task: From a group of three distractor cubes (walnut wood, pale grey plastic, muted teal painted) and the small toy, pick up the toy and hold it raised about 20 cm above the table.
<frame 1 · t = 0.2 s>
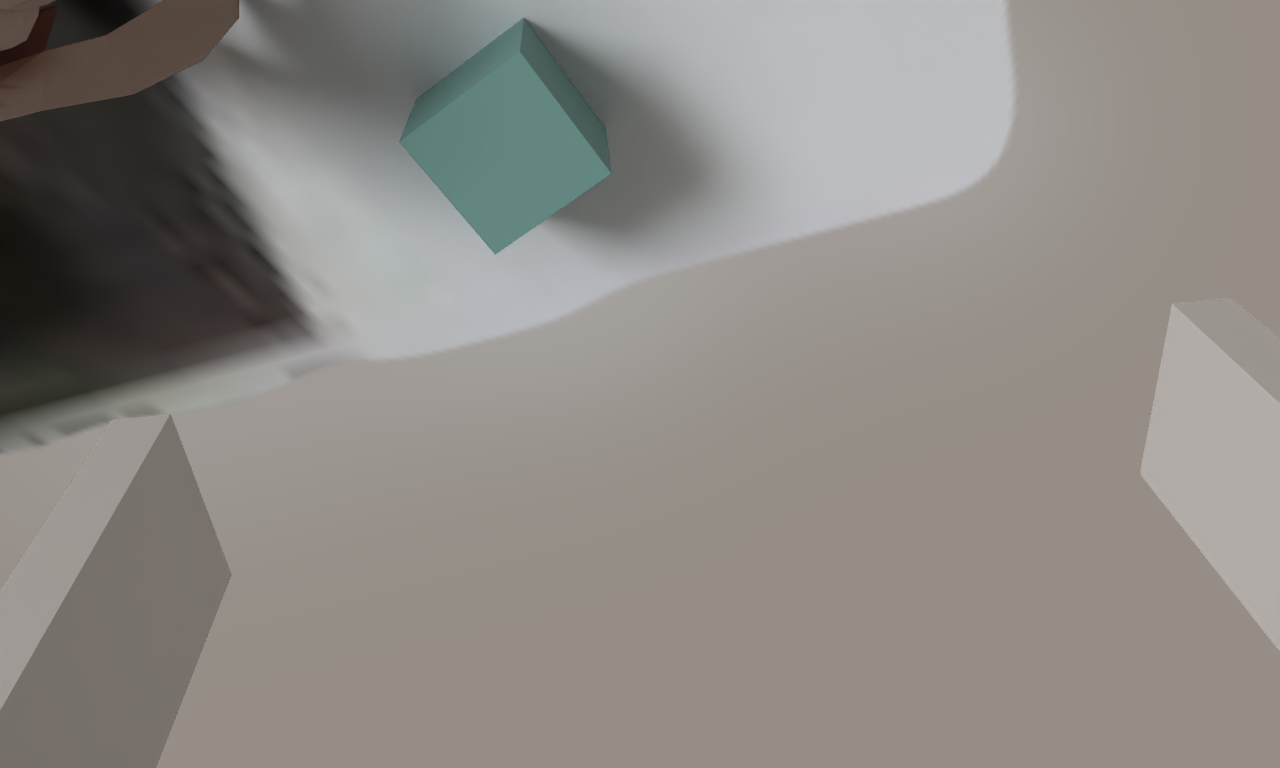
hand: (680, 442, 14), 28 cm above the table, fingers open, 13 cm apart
teal cube: (512, 113, 40), on the table
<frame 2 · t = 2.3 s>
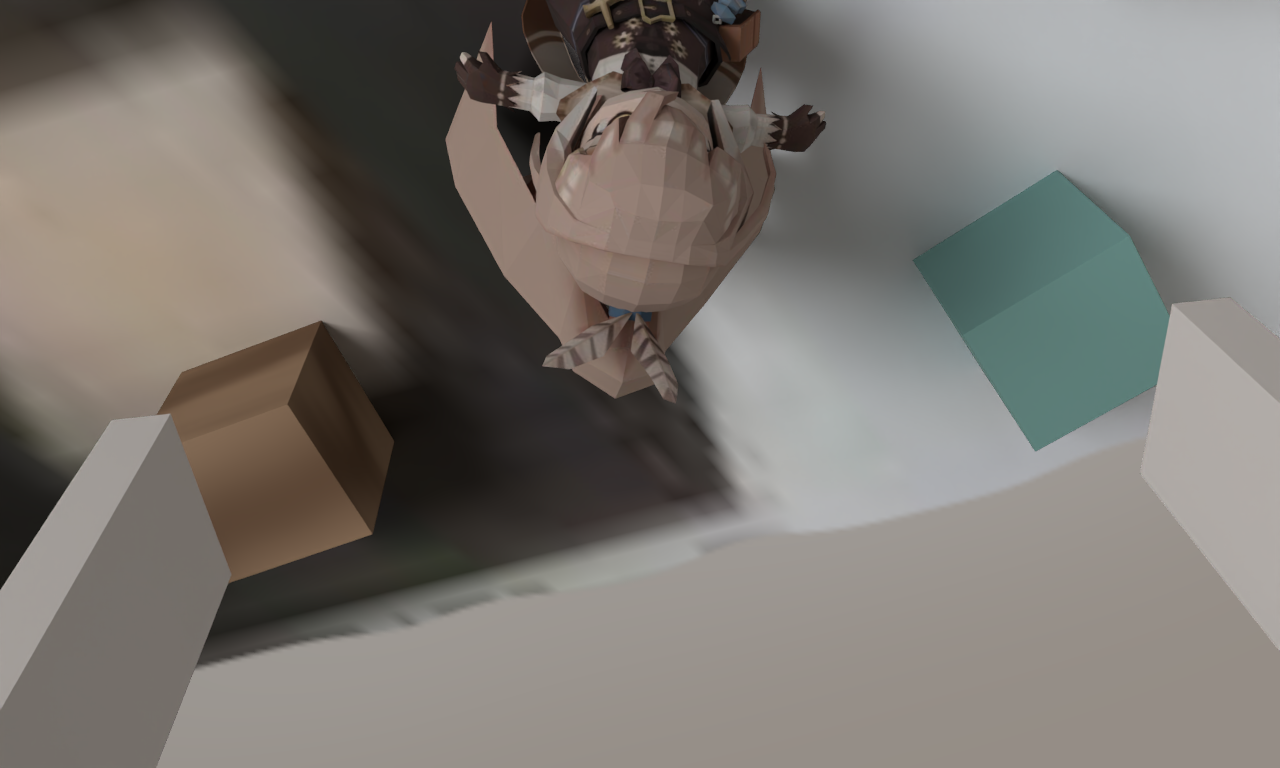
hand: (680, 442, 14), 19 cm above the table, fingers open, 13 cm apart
toy: (621, 63, 30), on the table
teal cube: (1016, 273, 35), on the table
walnut cube: (291, 406, 36), on the table
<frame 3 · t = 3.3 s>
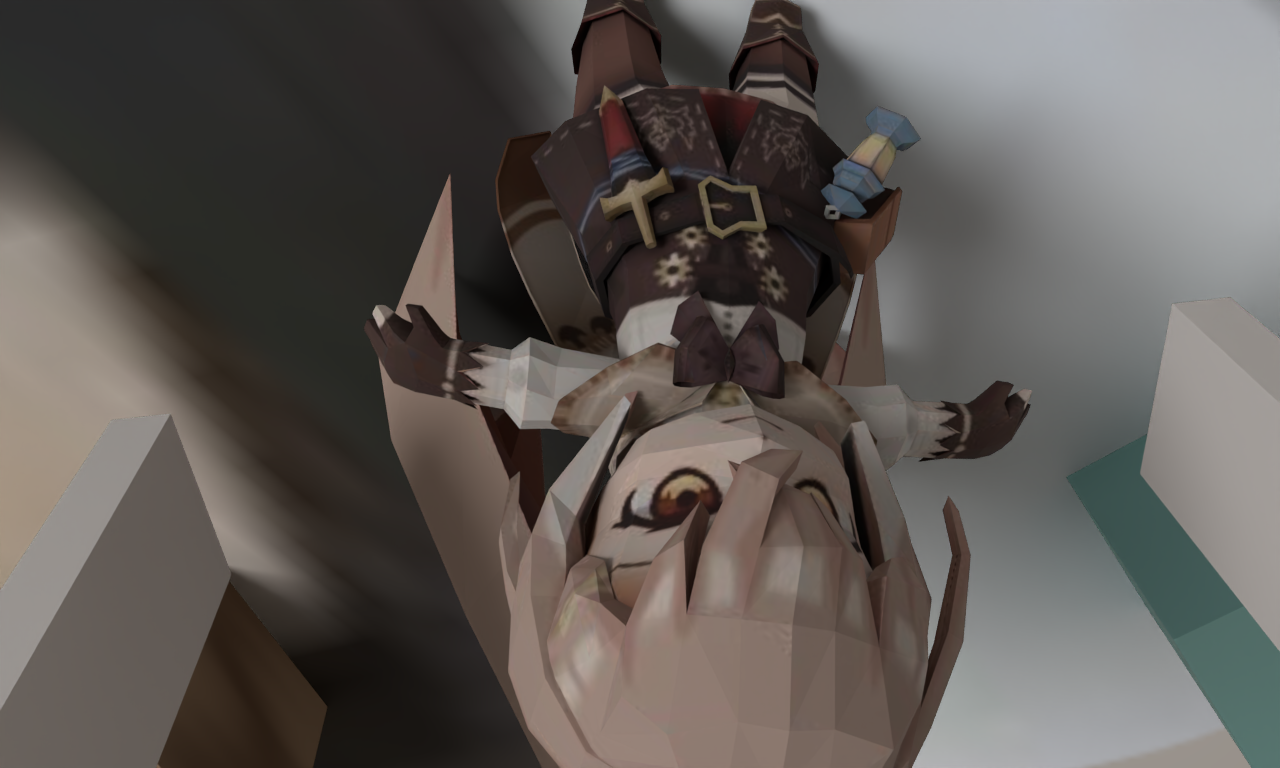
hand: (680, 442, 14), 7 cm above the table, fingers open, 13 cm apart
toy: (652, 217, 20), on the table
teal cube: (1210, 490, 24), on the table
walnut cube: (180, 666, 25), on the table
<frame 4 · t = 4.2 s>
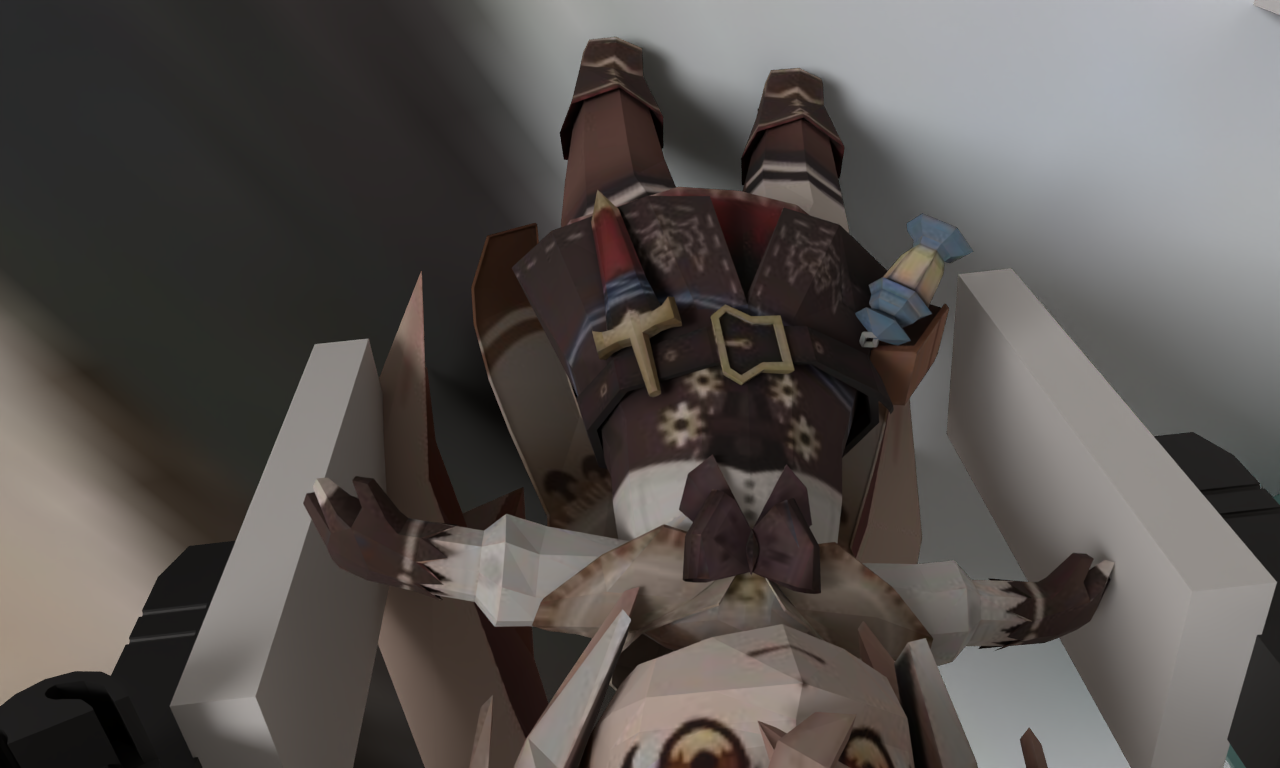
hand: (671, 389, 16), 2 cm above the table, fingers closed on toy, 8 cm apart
toy: (653, 308, 18), on the table, touching gripper
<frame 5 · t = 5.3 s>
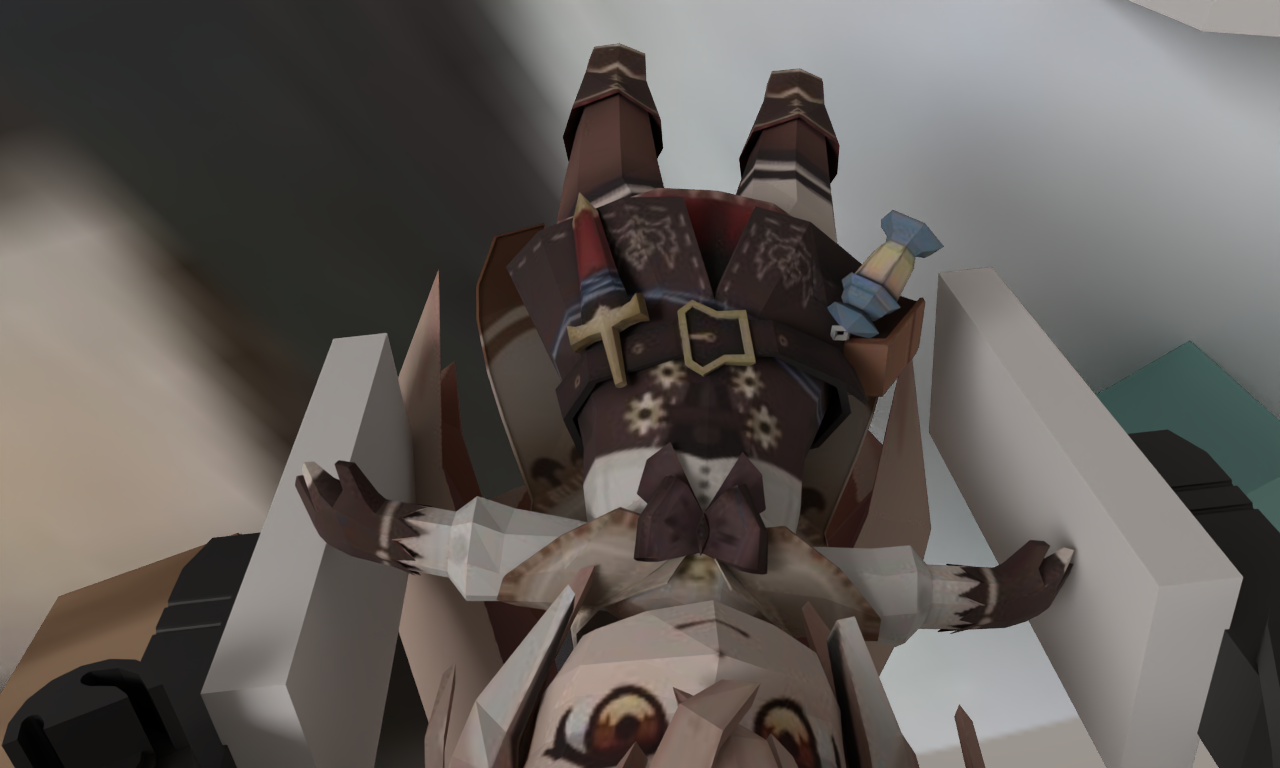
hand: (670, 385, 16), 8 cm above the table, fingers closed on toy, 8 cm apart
toy: (669, 303, 18), point 5 cm above the table, touching gripper
teal cube: (1130, 462, 27), on the table
walnut cube: (203, 632, 28), on the table
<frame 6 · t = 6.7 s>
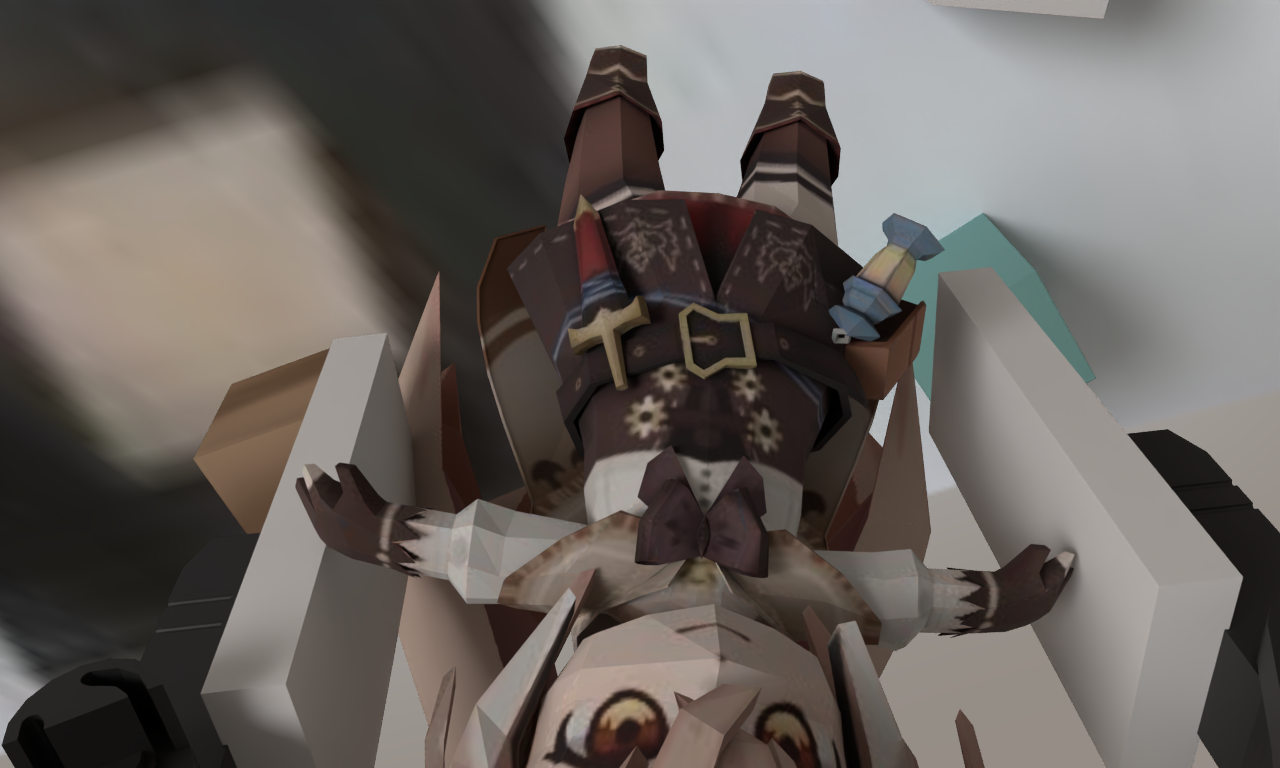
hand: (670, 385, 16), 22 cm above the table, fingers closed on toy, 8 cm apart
toy: (669, 305, 18), point 19 cm above the table, touching gripper
teal cube: (951, 300, 40), on the table
walnut cube: (325, 414, 41), on the table
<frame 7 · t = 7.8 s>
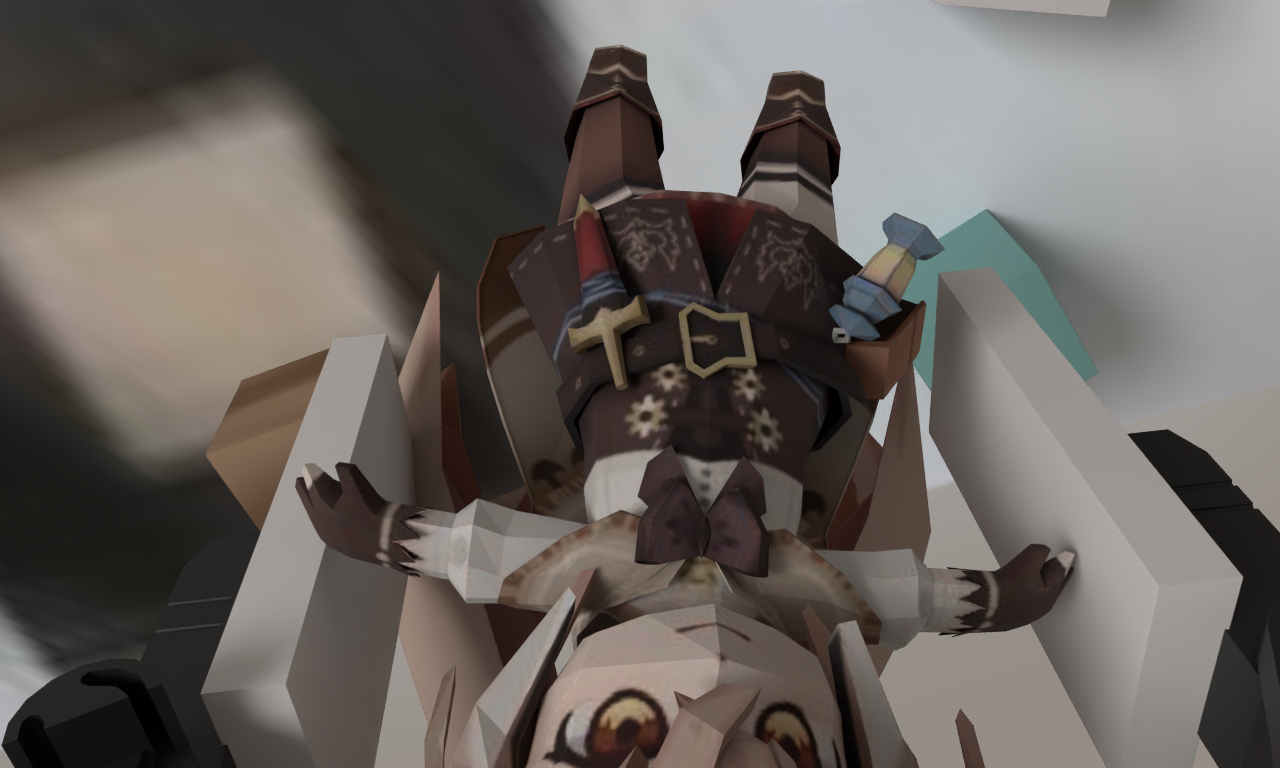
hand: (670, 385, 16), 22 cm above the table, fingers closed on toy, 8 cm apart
toy: (669, 305, 18), point 19 cm above the table, touching gripper
teal cube: (954, 295, 41), on the table
walnut cube: (334, 409, 41), on the table
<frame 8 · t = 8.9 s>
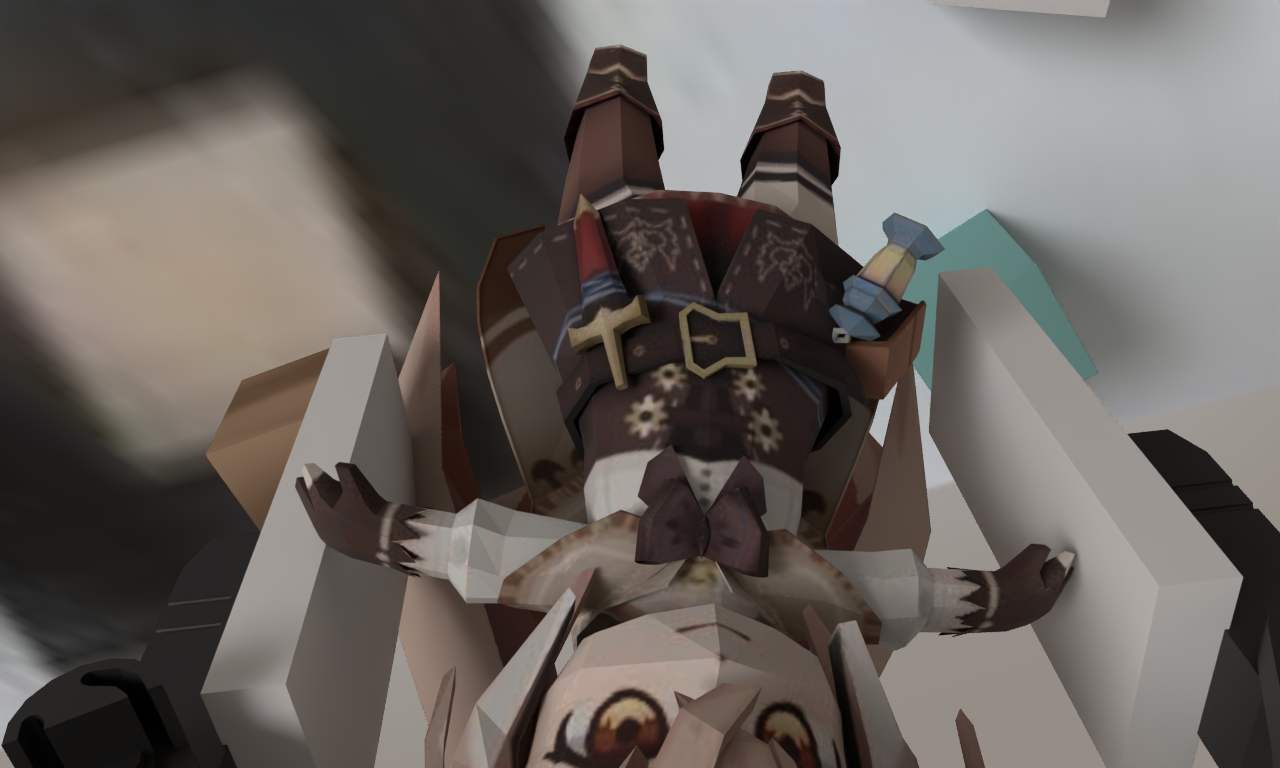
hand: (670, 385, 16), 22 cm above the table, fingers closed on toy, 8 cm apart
toy: (669, 305, 18), point 19 cm above the table, touching gripper
teal cube: (954, 295, 41), on the table
walnut cube: (334, 409, 41), on the table
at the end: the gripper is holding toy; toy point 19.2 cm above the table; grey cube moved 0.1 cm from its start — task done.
